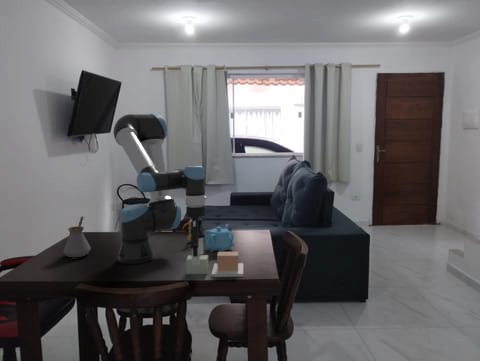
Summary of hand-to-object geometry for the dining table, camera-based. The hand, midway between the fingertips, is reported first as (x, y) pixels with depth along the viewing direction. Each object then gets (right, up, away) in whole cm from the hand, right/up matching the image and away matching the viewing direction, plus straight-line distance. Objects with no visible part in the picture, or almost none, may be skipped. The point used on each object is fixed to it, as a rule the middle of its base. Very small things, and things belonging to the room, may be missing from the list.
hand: (198, 258), depth 162 cm
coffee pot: (-58, -3, +29) cm, 65 cm away
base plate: (+12, -5, +1) cm, 13 cm away
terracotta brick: (+12, -4, +1) cm, 12 cm away
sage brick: (0, -5, +1) cm, 5 cm away
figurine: (-7, 0, +42) cm, 43 cm away
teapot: (+7, -2, +30) cm, 31 cm away
